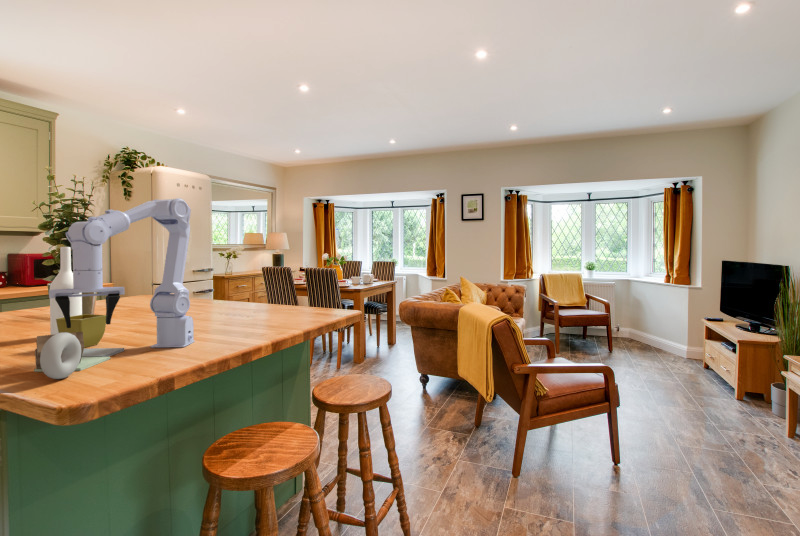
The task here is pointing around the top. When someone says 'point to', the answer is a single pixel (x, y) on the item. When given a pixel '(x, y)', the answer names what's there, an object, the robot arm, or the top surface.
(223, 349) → the top surface
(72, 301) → the bottle
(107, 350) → the stand
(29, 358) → the top surface
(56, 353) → the donut
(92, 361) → the pad
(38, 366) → the c link
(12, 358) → the top surface
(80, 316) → the flower pot
